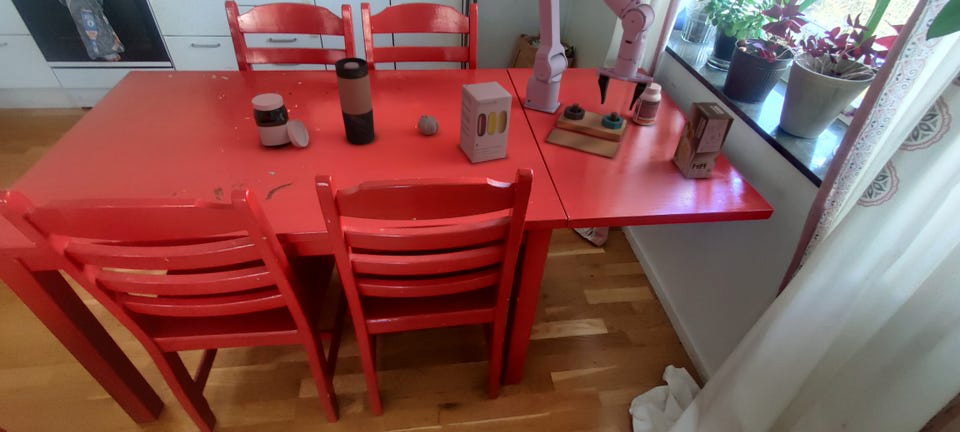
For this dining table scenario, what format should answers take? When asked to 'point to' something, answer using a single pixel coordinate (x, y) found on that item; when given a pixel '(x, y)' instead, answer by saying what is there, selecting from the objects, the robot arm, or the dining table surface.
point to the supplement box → (484, 121)
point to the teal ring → (611, 124)
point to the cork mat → (582, 143)
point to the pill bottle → (647, 105)
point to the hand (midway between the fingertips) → (616, 106)
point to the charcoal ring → (572, 115)
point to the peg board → (591, 124)
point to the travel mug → (355, 99)
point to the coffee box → (702, 139)
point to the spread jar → (277, 123)
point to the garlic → (428, 125)
